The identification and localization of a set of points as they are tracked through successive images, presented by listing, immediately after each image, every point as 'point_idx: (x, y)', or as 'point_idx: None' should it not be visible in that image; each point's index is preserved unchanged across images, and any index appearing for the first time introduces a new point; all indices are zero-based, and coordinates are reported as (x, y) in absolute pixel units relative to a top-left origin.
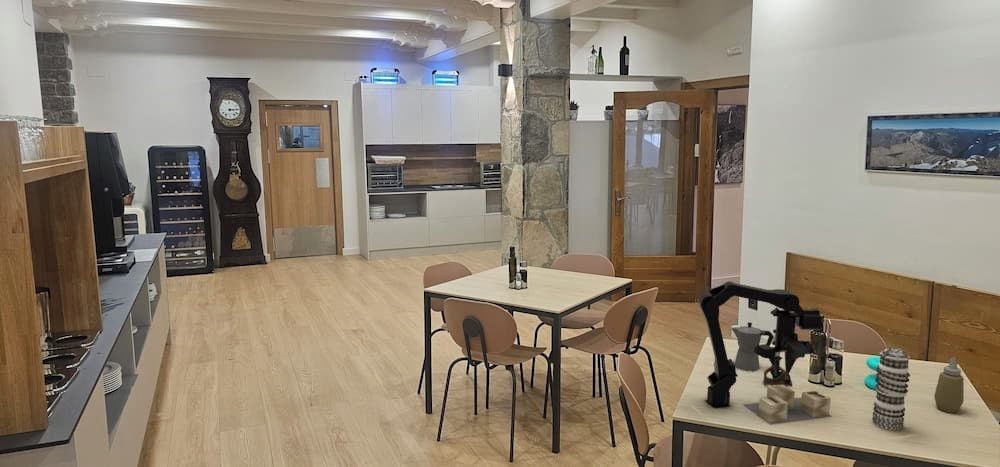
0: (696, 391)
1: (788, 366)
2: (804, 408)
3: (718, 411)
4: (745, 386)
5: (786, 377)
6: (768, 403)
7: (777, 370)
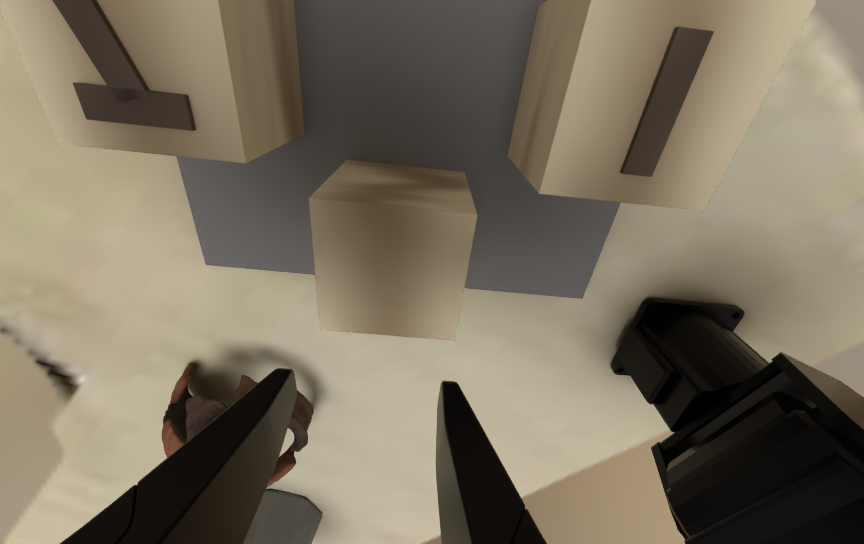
0: (619, 440)
1: (244, 467)
2: (292, 96)
3: (737, 287)
4: (397, 421)
5: (200, 410)
6: (785, 58)
7: (473, 432)
